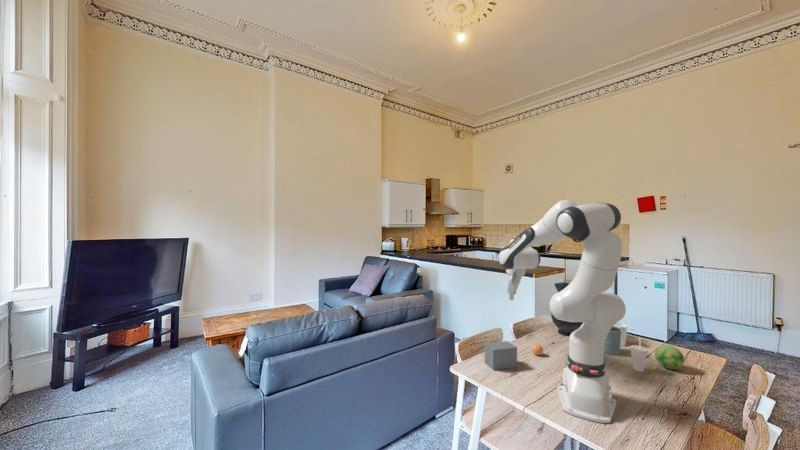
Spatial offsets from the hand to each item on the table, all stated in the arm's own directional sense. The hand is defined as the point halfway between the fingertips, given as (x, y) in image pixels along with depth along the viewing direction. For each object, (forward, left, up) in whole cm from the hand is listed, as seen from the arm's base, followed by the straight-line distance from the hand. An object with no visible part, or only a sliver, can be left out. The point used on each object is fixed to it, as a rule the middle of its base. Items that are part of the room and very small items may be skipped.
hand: (512, 296), depth 155 cm
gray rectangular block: (-18, +2, -27) cm, 33 cm away
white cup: (+39, -46, -27) cm, 66 cm away
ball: (+2, -11, -25) cm, 27 cm away
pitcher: (+41, -24, -27) cm, 55 cm away
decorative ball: (+17, -63, -27) cm, 71 cm away
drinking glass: (+24, -41, -27) cm, 55 cm away
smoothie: (+8, -51, -27) cm, 59 cm away
